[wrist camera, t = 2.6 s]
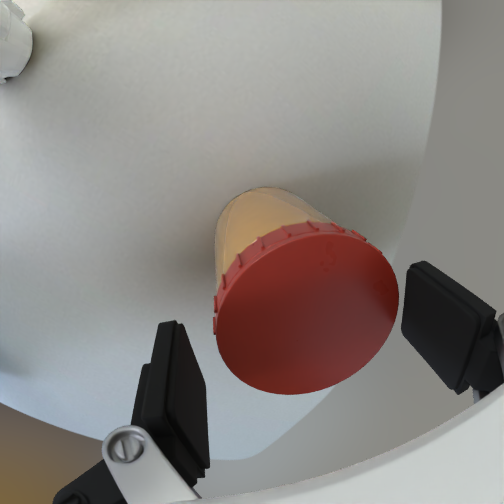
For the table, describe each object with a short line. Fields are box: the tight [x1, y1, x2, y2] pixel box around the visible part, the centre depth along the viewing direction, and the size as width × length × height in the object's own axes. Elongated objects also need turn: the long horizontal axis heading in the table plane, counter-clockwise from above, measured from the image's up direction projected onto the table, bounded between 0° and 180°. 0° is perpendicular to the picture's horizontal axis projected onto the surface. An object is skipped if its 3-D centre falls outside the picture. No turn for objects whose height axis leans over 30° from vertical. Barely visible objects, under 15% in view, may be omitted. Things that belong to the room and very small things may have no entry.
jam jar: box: [214, 187, 341, 293], centre depth 14 cm, size 6×6×9 cm
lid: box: [213, 220, 399, 395], centre depth 10 cm, size 7×7×1 cm
